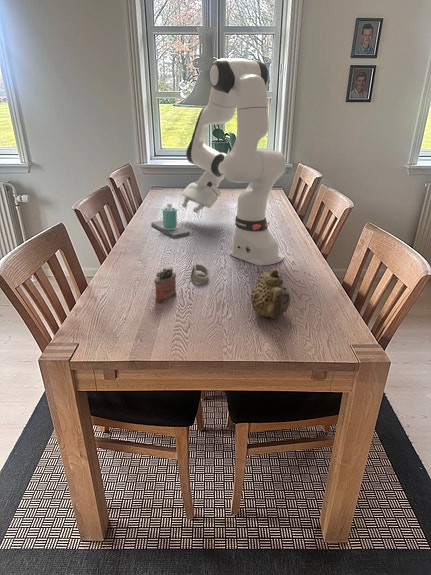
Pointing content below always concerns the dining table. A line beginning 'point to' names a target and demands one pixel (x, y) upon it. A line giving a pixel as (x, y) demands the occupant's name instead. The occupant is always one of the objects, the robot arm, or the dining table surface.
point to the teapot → (270, 295)
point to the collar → (170, 218)
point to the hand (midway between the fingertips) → (188, 209)
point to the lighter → (165, 285)
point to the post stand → (173, 232)
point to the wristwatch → (196, 277)
